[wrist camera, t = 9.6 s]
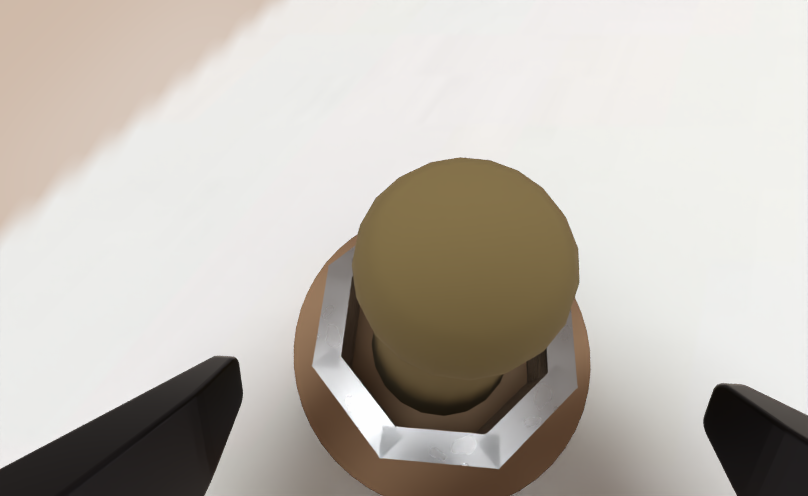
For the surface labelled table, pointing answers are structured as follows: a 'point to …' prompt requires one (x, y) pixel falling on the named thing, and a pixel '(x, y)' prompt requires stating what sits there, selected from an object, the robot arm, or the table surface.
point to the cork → (462, 280)
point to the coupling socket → (426, 433)
